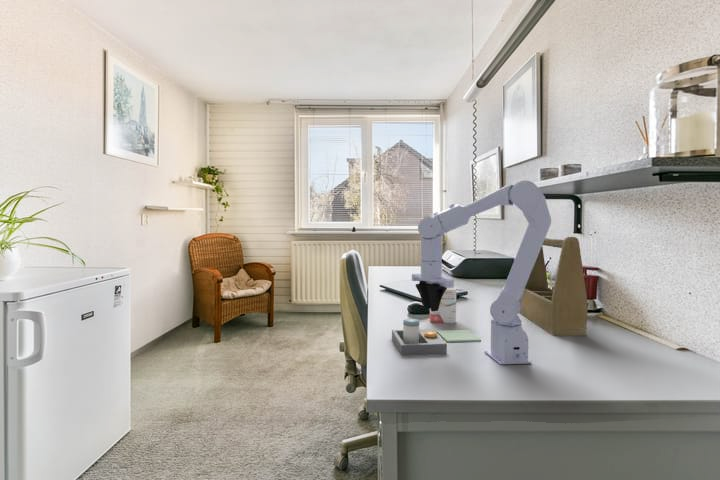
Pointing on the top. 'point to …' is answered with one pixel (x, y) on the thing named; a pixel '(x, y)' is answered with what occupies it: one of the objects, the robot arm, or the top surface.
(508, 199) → the robot arm
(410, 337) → the cylinder
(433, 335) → the plunger
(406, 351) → the dock
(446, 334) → the mat
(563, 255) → the caddy
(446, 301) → the ink cartridge box
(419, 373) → the top surface
